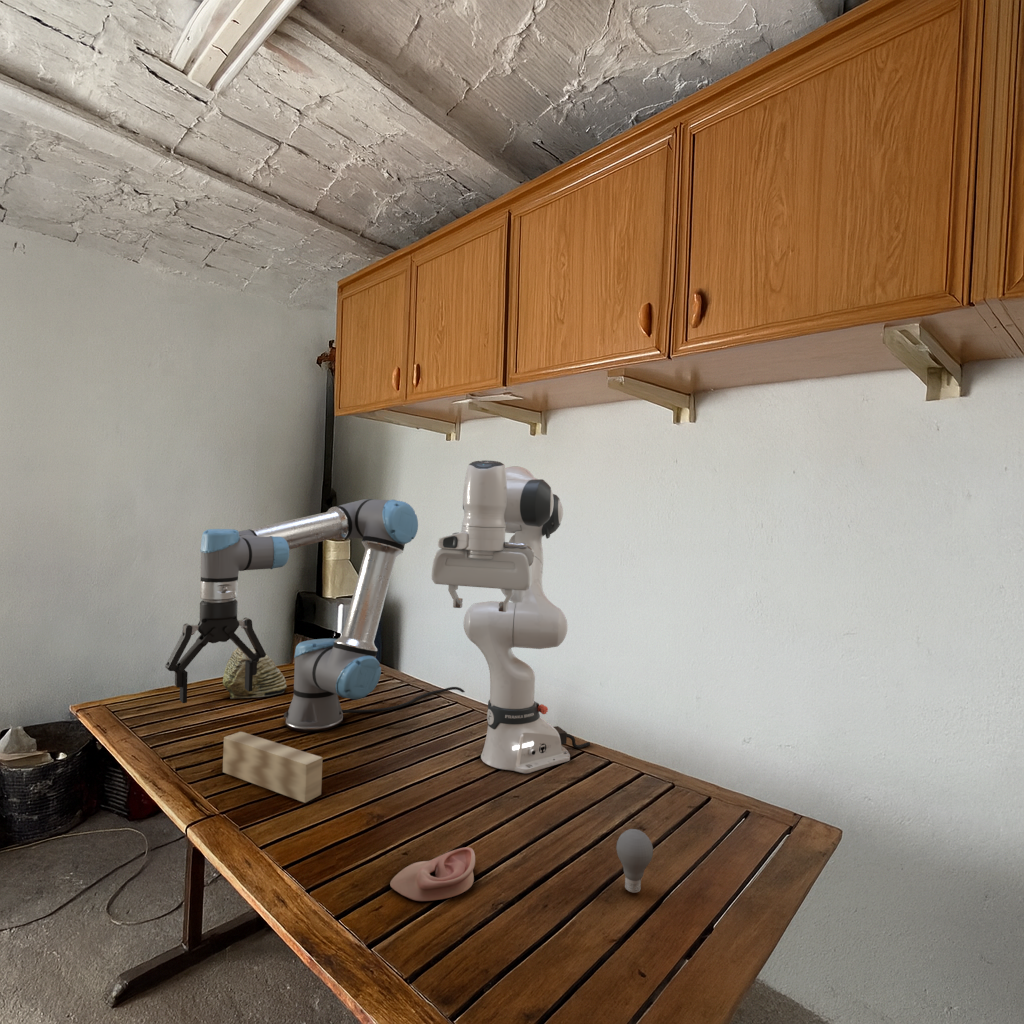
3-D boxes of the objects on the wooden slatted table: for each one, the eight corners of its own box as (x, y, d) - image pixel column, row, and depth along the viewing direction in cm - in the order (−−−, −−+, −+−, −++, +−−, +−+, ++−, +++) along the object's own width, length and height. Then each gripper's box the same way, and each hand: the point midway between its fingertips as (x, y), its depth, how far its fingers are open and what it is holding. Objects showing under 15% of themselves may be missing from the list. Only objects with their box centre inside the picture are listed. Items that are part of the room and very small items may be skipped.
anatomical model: (383, 870, 101) (409, 834, 113) (382, 895, 101) (408, 856, 113) (463, 884, 99) (481, 845, 110) (461, 909, 99) (480, 868, 110)
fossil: (218, 695, 195) (220, 647, 195) (278, 685, 208) (279, 640, 207) (228, 703, 189) (230, 653, 188) (289, 692, 201) (290, 645, 201)
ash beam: (222, 772, 143) (223, 737, 143) (239, 765, 147) (240, 731, 147) (305, 803, 131) (306, 764, 131) (321, 794, 135) (322, 757, 135)
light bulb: (610, 879, 108) (613, 822, 108) (644, 879, 109) (647, 822, 109) (619, 902, 102) (622, 840, 102) (655, 901, 103) (658, 840, 103)
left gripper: (159, 607, 128) (157, 711, 128) (281, 597, 144) (279, 689, 145) (150, 601, 133) (148, 701, 134) (269, 592, 150) (267, 681, 151)
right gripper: (536, 542, 128) (533, 610, 129) (440, 537, 132) (437, 603, 133) (531, 544, 122) (528, 616, 122) (430, 538, 126) (427, 607, 126)
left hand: (216, 695), depth 139 cm, fingers open, 13 cm apart
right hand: (480, 609), depth 128 cm, fingers open, 8 cm apart
